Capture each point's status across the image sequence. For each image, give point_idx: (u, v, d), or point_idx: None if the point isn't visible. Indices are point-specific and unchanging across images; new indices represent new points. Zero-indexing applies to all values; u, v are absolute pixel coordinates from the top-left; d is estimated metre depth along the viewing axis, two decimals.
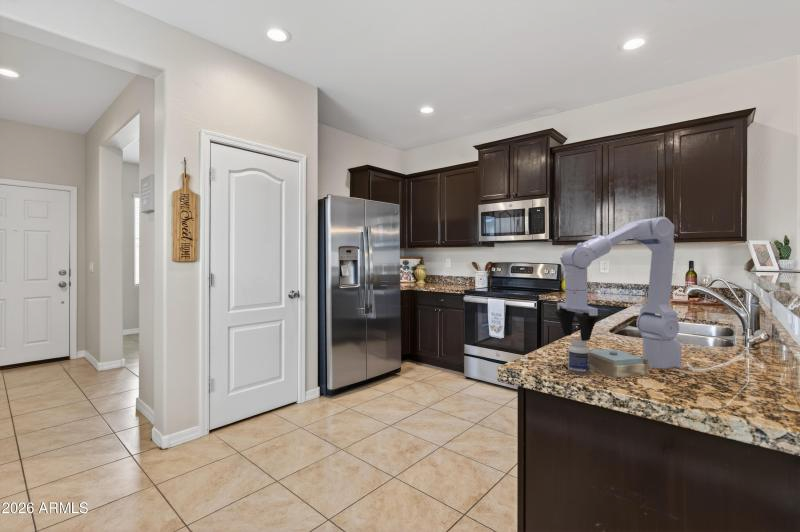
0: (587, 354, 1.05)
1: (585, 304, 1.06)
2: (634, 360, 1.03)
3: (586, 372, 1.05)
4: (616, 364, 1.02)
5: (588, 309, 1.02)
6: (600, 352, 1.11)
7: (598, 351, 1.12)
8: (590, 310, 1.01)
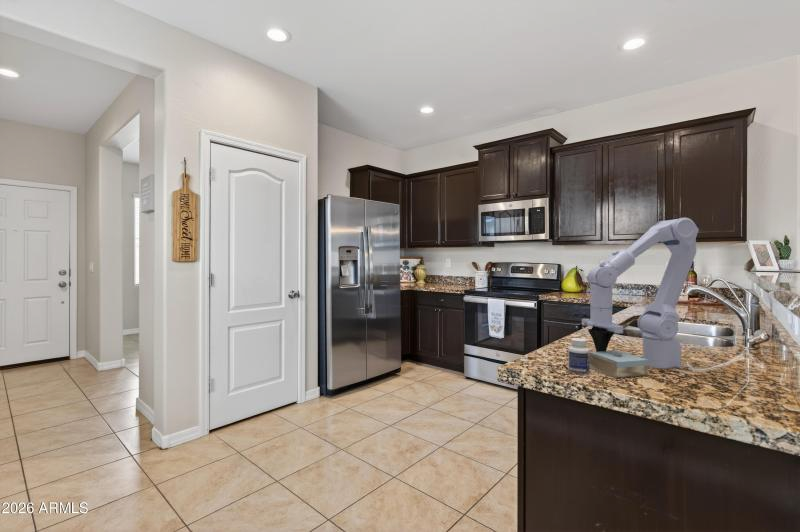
0: (587, 354, 1.05)
1: (610, 321, 1.11)
2: (639, 362, 1.02)
3: (586, 372, 1.05)
4: (621, 366, 1.01)
5: (614, 327, 1.07)
6: (604, 353, 1.09)
7: (602, 352, 1.10)
8: (616, 328, 1.06)
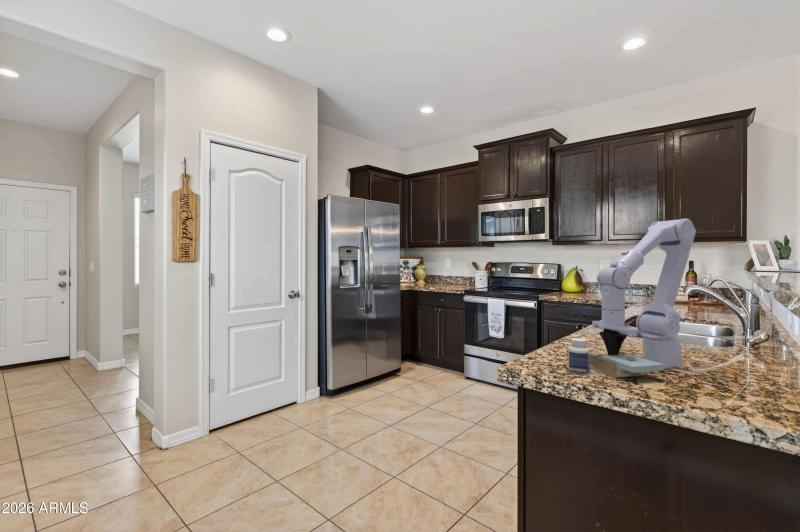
0: (587, 354, 1.05)
1: (623, 324, 1.06)
2: (654, 366, 0.97)
3: (586, 372, 1.05)
4: (635, 371, 0.96)
5: (627, 330, 1.02)
6: (617, 357, 1.05)
7: (614, 356, 1.06)
8: (629, 331, 1.01)
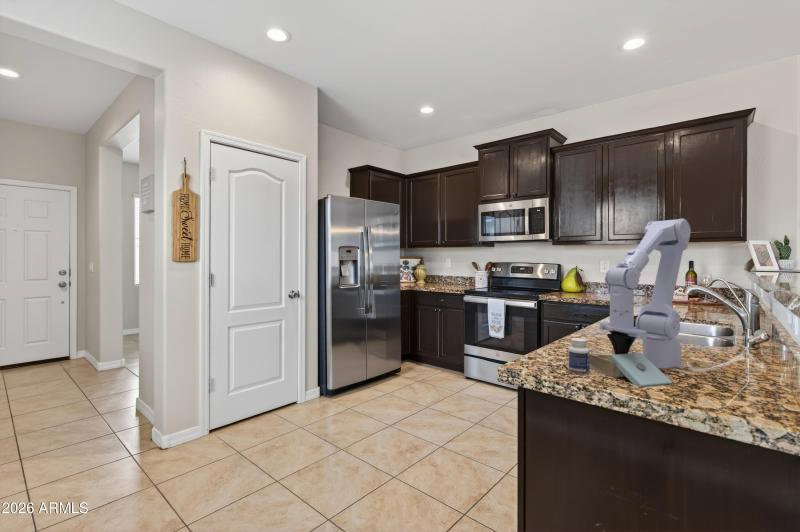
0: (587, 354, 1.05)
1: (632, 326, 1.03)
2: (662, 384, 0.95)
3: (586, 372, 1.05)
4: None
5: (636, 332, 0.99)
6: (626, 361, 1.01)
7: (624, 357, 1.02)
8: (639, 333, 0.98)
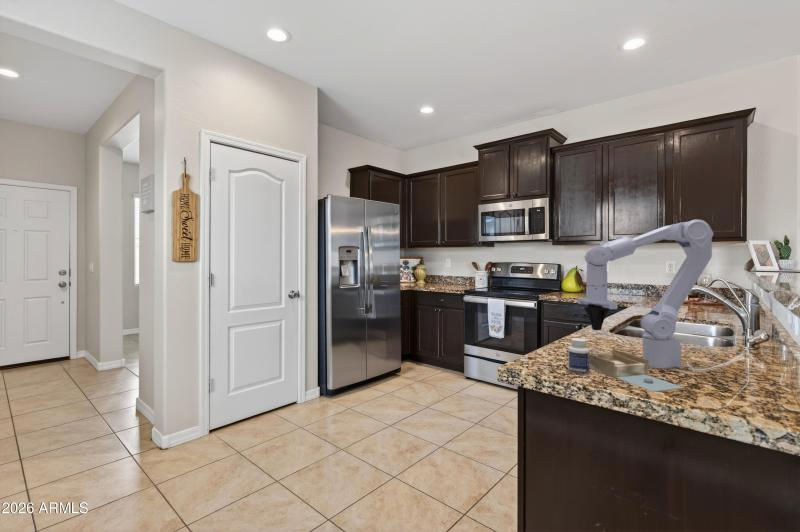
0: (587, 354, 1.05)
1: (605, 299, 1.15)
2: None
3: (586, 372, 1.05)
4: None
5: (609, 303, 1.11)
6: (633, 379, 0.99)
7: (630, 378, 1.00)
8: (611, 304, 1.10)
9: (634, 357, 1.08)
